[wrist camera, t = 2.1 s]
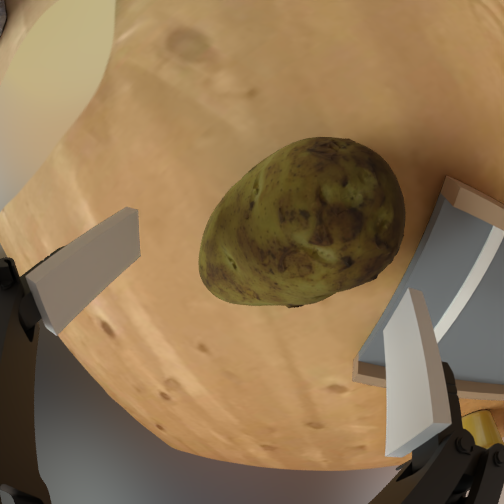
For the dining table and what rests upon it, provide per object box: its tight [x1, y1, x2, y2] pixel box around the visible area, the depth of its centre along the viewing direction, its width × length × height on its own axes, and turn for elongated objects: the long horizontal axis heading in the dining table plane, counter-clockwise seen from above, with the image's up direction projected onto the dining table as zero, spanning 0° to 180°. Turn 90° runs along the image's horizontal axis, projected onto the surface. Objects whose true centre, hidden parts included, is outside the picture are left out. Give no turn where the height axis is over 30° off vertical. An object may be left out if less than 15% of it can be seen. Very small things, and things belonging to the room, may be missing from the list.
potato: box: [199, 137, 405, 308], centre depth 14 cm, size 8×13×8 cm, turn 114°
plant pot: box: [462, 410, 504, 449], centre depth 20 cm, size 10×10×10 cm
